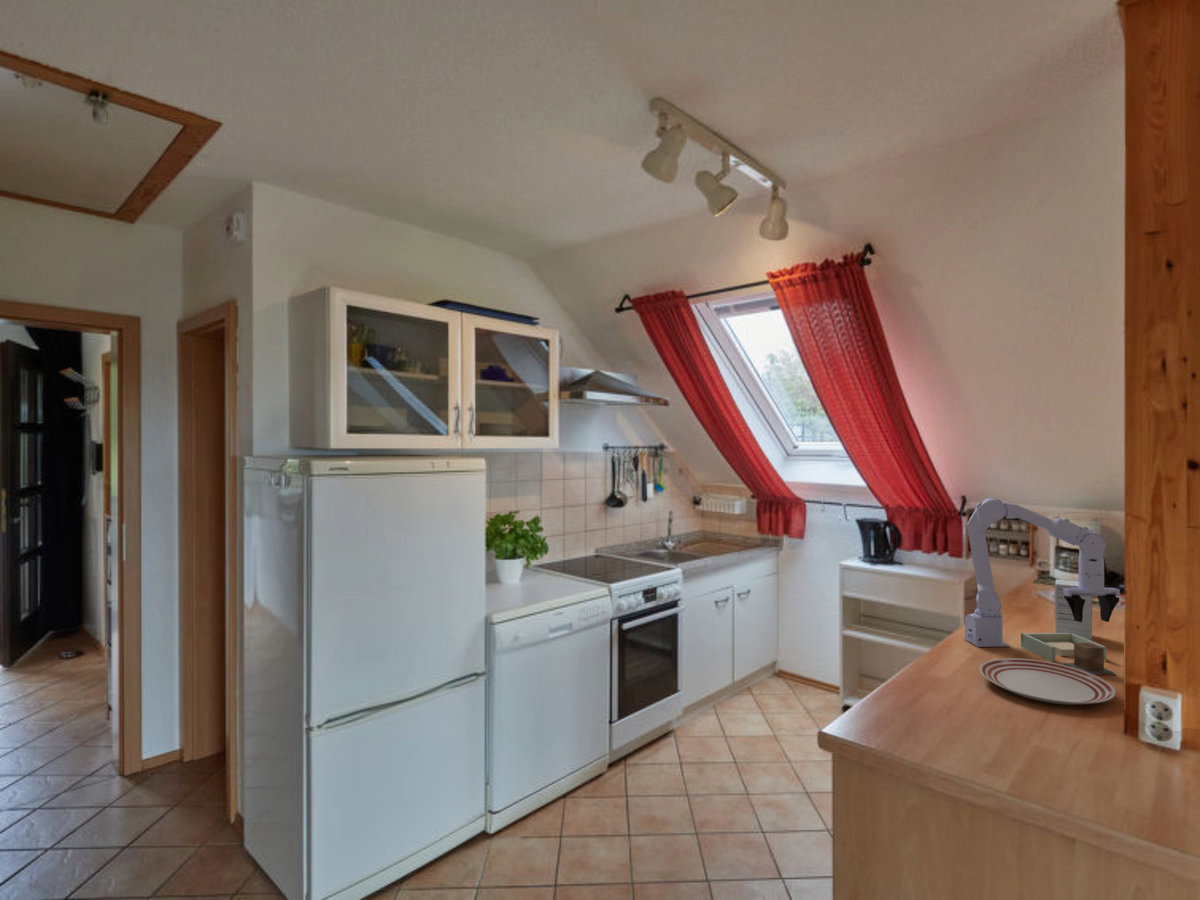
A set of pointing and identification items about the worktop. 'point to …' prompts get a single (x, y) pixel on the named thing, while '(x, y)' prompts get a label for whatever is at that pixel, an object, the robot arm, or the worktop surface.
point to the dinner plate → (1047, 681)
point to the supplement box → (1064, 613)
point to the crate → (1053, 644)
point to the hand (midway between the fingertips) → (1091, 621)
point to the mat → (1090, 671)
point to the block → (1089, 656)
